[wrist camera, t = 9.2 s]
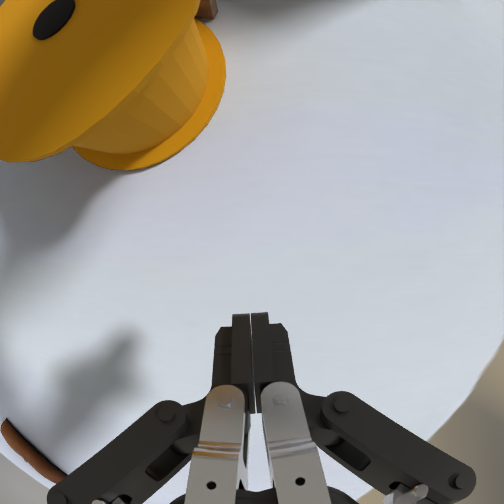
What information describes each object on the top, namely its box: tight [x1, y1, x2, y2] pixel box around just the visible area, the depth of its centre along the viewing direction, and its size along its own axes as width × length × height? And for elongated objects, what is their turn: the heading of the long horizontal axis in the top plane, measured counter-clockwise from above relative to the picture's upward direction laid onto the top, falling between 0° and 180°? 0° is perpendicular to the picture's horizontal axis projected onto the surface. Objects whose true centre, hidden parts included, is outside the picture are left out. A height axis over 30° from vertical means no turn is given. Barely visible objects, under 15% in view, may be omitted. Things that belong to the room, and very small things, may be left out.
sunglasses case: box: [1, 418, 67, 484], centre depth 35 cm, size 18×7×7 cm
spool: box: [0, 0, 226, 170], centre depth 17 cm, size 18×18×15 cm
